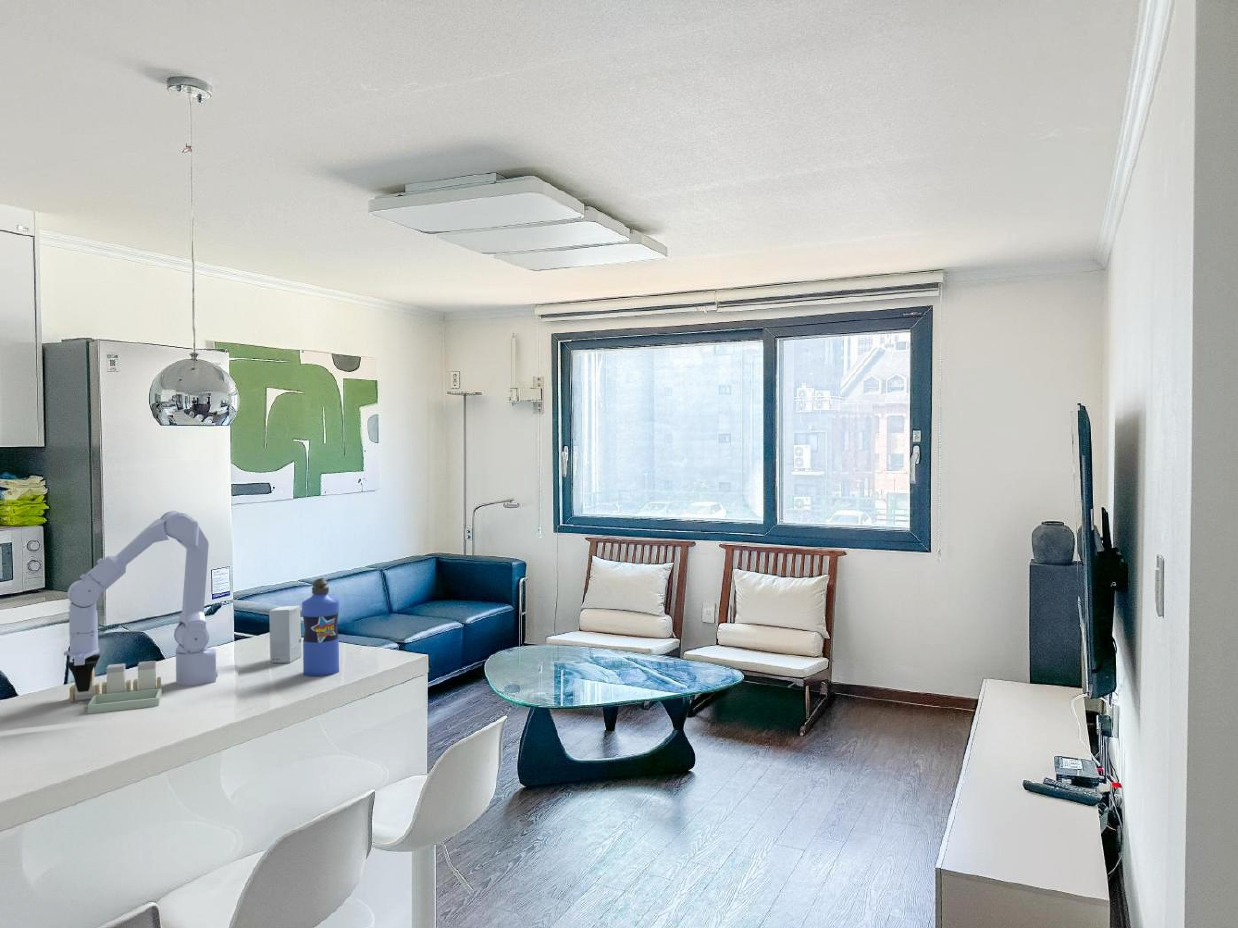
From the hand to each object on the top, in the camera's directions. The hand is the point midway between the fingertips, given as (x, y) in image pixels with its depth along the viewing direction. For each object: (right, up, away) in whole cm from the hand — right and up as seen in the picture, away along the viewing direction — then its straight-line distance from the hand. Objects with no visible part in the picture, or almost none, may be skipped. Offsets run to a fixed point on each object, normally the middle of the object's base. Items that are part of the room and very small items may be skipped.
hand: (84, 689), depth 206 cm
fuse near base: (+12, -2, +5) cm, 13 cm away
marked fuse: (0, -2, 0) cm, 2 cm away
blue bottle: (+47, -3, +27) cm, 54 cm away
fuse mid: (+6, -2, +3) cm, 7 cm away
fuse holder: (+6, -3, +3) cm, 7 cm away
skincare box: (+32, -3, +41) cm, 52 cm away
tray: (+12, -3, -5) cm, 14 cm away
